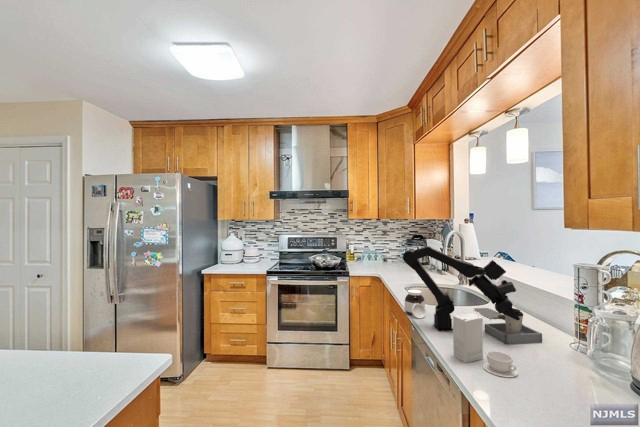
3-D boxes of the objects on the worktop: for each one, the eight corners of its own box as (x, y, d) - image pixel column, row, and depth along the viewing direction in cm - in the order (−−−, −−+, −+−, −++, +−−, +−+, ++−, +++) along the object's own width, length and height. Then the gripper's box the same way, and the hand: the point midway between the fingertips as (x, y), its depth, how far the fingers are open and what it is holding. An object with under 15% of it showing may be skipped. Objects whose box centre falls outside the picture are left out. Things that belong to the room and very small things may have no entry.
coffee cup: (527, 337, 119) (527, 312, 119) (511, 337, 118) (511, 312, 118) (515, 330, 126) (515, 307, 126) (499, 330, 125) (499, 307, 125)
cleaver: (529, 329, 132) (529, 324, 132) (509, 329, 131) (508, 325, 131) (486, 309, 162) (486, 305, 162) (469, 310, 161) (469, 306, 161)
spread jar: (414, 310, 159) (414, 288, 159) (433, 315, 150) (433, 292, 150) (399, 314, 152) (399, 291, 152) (418, 320, 143) (418, 296, 143)
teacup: (476, 367, 99) (475, 353, 99) (493, 360, 104) (493, 346, 104) (506, 382, 90) (506, 366, 90) (524, 373, 95) (524, 358, 95)
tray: (505, 344, 116) (505, 335, 116) (484, 331, 129) (484, 323, 129) (542, 342, 118) (542, 333, 118) (517, 330, 130) (517, 322, 130)
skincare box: (470, 352, 109) (469, 311, 110) (484, 359, 104) (483, 317, 104) (452, 355, 107) (452, 314, 107) (465, 363, 101) (465, 320, 101)
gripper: (506, 279, 115) (540, 311, 111) (499, 271, 132) (528, 299, 128) (482, 297, 119) (515, 329, 114) (479, 287, 136) (507, 314, 131)
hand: (517, 317), depth 122 cm, fingers closed on coffee cup, 7 cm apart
